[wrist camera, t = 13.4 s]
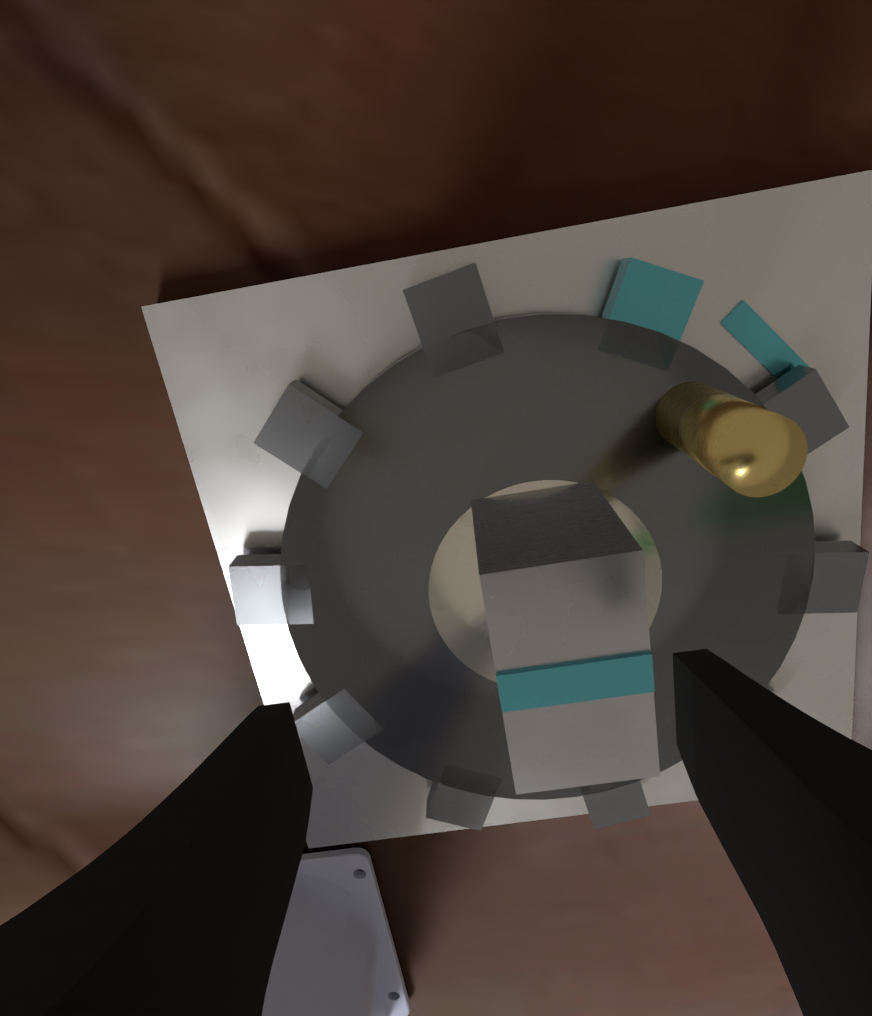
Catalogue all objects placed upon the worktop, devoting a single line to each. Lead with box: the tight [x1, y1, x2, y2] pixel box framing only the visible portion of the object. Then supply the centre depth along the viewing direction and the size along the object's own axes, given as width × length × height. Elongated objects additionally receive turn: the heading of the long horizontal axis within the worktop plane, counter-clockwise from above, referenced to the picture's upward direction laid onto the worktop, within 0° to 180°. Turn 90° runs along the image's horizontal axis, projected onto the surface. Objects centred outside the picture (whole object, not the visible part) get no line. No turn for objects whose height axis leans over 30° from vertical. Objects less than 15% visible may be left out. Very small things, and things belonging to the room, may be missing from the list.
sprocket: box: [228, 257, 869, 831], centre depth 18 cm, size 19×19×5 cm
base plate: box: [141, 170, 872, 848], centre depth 21 cm, size 20×20×1 cm
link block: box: [471, 481, 660, 795], centre depth 17 cm, size 6×4×5 cm, turn 10°
